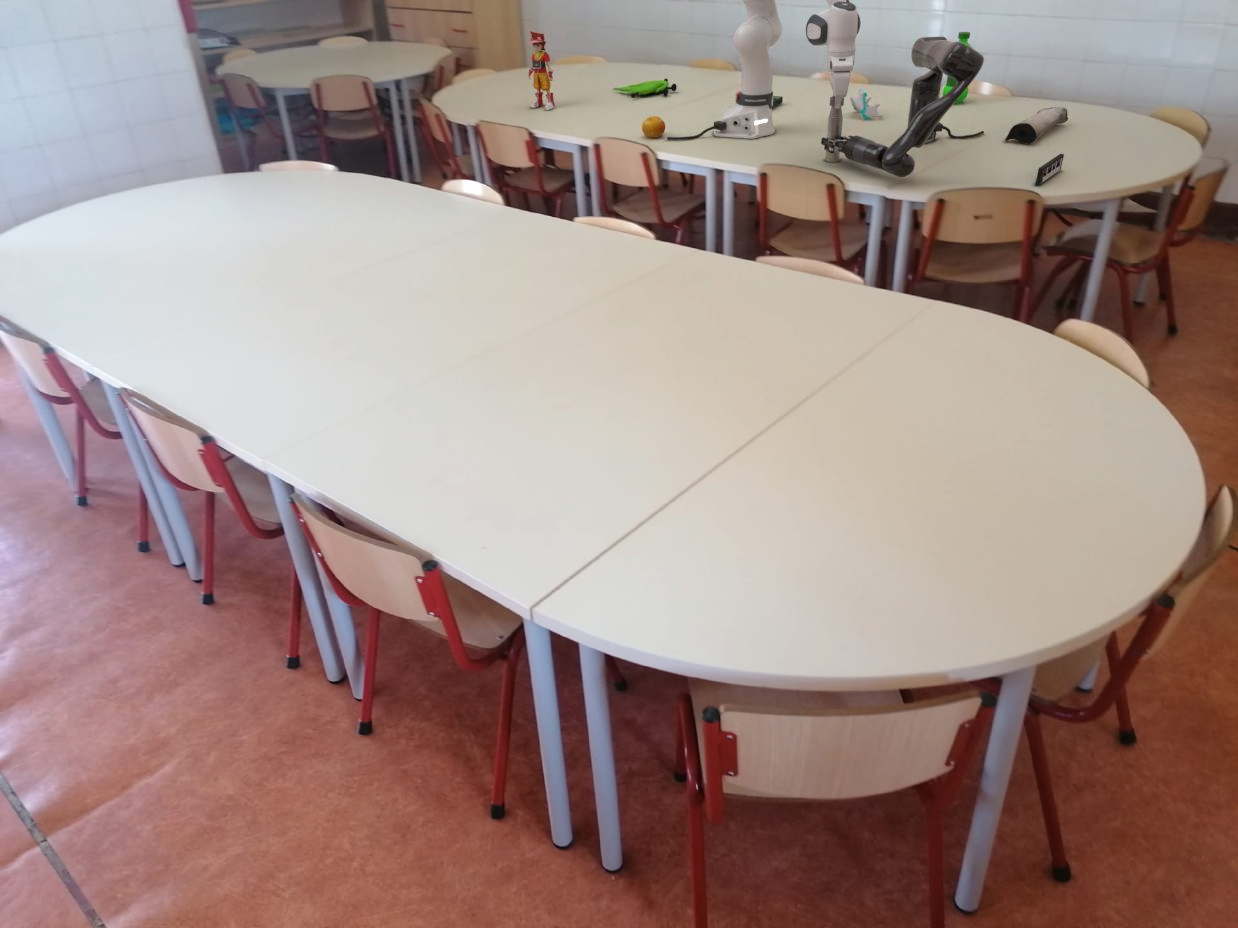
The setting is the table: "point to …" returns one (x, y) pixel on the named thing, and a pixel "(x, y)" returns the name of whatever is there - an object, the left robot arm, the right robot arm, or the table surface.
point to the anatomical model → (864, 105)
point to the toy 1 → (541, 71)
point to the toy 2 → (648, 88)
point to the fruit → (653, 127)
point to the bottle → (834, 132)
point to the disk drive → (777, 101)
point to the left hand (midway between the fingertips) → (836, 105)
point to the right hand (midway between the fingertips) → (828, 139)
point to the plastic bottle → (951, 82)
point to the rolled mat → (1037, 125)
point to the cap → (832, 101)
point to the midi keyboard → (1049, 169)
